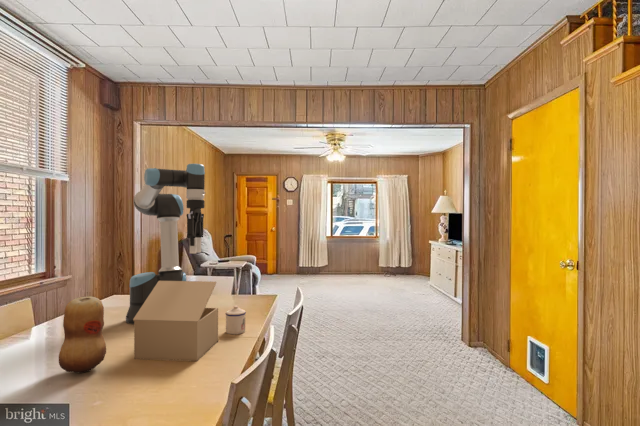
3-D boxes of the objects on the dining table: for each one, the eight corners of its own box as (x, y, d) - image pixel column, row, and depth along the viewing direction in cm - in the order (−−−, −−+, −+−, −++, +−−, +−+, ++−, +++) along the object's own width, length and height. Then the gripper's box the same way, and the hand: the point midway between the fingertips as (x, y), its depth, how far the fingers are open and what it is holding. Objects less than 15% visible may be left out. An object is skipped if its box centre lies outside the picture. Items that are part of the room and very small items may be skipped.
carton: (134, 359, 142) (134, 321, 142) (163, 339, 164) (163, 306, 164) (197, 361, 140) (197, 322, 140) (218, 341, 162) (218, 307, 162)
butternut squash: (71, 383, 121) (71, 304, 122) (51, 374, 129) (51, 299, 129) (114, 368, 133) (114, 296, 133) (93, 360, 140) (94, 292, 140)
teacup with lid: (245, 334, 172) (245, 308, 172) (224, 335, 170) (224, 308, 170) (245, 326, 183) (245, 301, 183) (226, 327, 182) (226, 302, 182)
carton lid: (133, 321, 142) (132, 319, 142) (159, 282, 161) (158, 280, 161) (198, 322, 140) (197, 321, 140) (216, 283, 159) (216, 281, 159)
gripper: (195, 198, 159) (195, 255, 159) (211, 200, 177) (211, 250, 176) (178, 198, 160) (178, 254, 160) (195, 200, 177) (195, 250, 177)
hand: (195, 252), depth 168 cm, fingers open, 4 cm apart
